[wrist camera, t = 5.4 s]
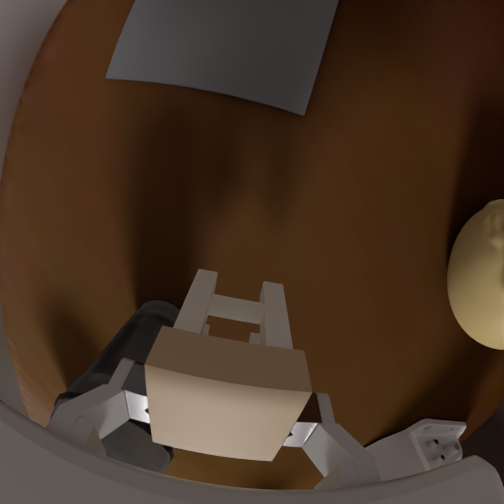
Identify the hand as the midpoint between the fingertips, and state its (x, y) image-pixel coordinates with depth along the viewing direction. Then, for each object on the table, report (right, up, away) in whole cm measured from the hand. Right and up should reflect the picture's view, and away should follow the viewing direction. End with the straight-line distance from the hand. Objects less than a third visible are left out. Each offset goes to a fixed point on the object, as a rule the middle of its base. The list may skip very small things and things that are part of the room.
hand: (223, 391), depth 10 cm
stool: (0, +2, +5) cm, 6 cm away
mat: (0, +22, +3) cm, 22 cm away
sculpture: (+22, +5, +9) cm, 24 cm away
